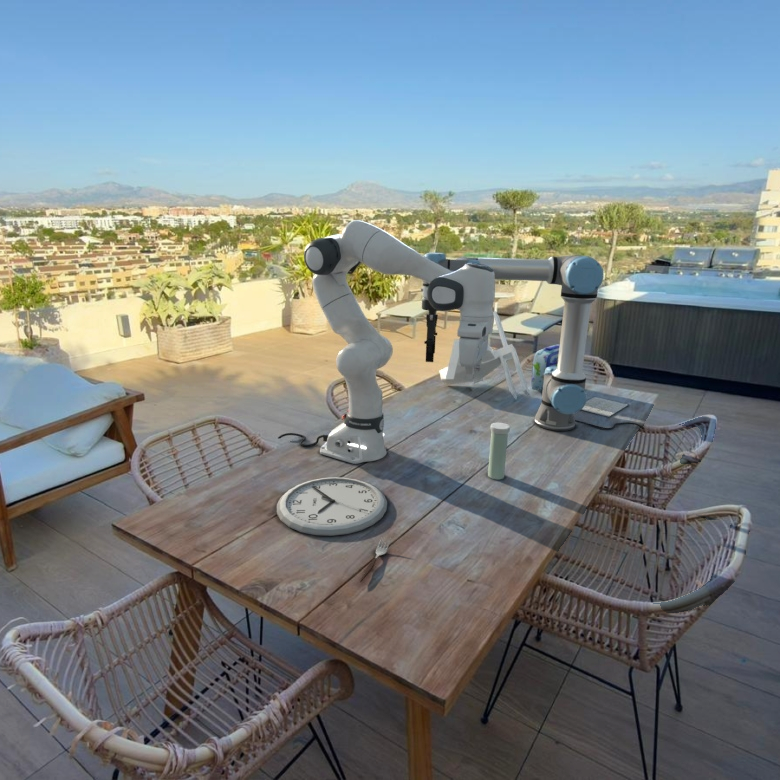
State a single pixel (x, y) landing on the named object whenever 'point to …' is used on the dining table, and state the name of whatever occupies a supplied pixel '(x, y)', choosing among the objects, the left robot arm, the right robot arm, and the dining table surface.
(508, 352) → the white plastic object
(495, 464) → the jar
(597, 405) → the invitation card
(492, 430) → the lid
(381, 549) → the fork
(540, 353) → the lunch box
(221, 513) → the dining table surface
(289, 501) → the wall clock
